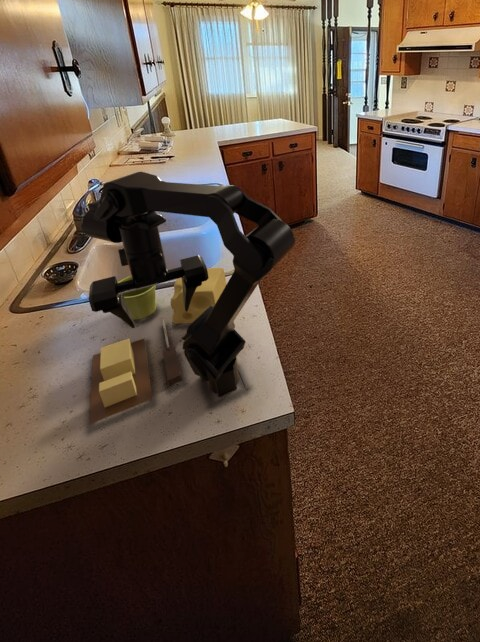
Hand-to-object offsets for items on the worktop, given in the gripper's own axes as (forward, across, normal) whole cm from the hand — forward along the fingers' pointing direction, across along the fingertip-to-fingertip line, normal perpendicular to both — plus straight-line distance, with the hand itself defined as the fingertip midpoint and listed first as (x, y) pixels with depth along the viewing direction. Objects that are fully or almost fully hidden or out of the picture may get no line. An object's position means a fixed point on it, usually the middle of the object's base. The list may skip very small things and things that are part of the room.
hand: (160, 318), depth 66 cm
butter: (+11, +9, -3) cm, 14 cm away
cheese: (+12, -9, -13) cm, 20 cm away
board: (+12, +9, -1) cm, 15 cm away
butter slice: (+11, +9, +4) cm, 15 cm away
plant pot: (+12, +4, -20) cm, 24 cm away
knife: (+12, 0, -3) cm, 12 cm away
